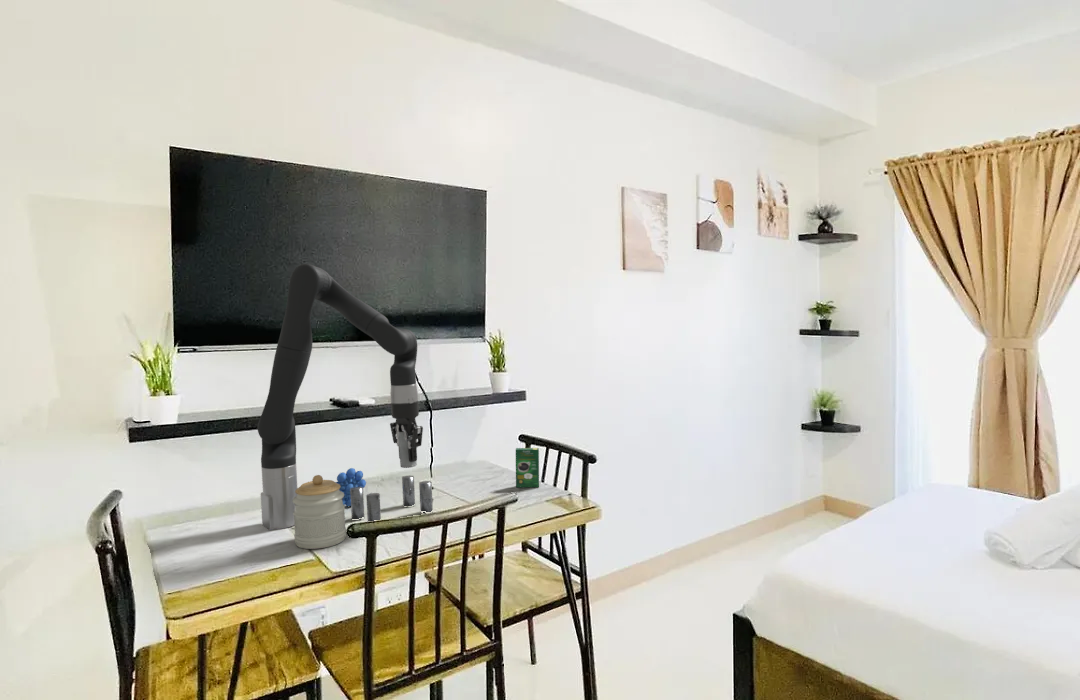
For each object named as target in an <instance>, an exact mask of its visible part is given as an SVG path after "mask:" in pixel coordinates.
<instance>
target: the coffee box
mask: <svg viewBox="0 0 1080 700" xmlns="http://www.w3.org/2000/svg"><path fill="white" fill-rule="evenodd" d="M539 449H540V448H539V447H516V448H515V488H520V489H521V488H522V489H523V488H533V489H534V488H540V450H539Z"/></svg>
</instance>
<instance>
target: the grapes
mask: <svg viewBox="0 0 1080 700" xmlns="http://www.w3.org/2000/svg"><path fill="white" fill-rule="evenodd" d="M363 477H364V472H363V471H362V470H357V471H356V469H355V468H353V467H351V468H350V467H349V468H348V469H347V471H346V472H339V473H338V474H337V476H336V480H337V481H334V482H335V483H338V484H340V486H341V487H340V489H339V490H340V491H342V492H343V493H344V497H343V498H342V501H343V504H344V506H345V507H347V506H351V495H350V489H351V488H353V487H363V489H364V488H365V487H366V485H367V481H366V479H364V478H363Z"/></svg>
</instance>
